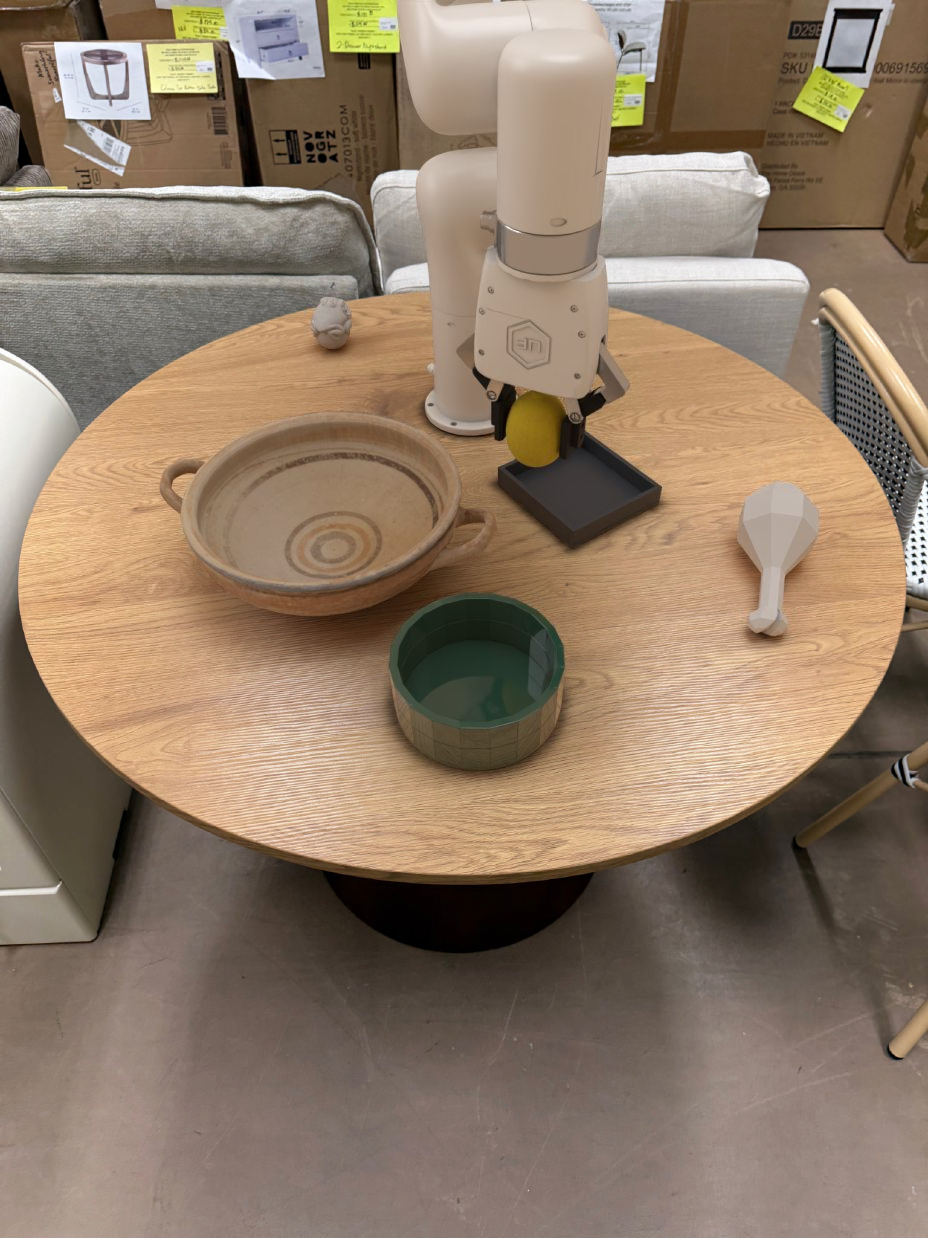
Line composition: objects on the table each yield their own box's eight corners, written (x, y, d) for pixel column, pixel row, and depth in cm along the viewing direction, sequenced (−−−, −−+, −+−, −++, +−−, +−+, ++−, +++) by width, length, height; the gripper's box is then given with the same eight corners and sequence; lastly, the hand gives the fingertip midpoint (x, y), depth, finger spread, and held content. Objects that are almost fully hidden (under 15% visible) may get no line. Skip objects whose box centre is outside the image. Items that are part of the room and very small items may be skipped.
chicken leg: (707, 635, 83) (758, 600, 76) (724, 499, 91) (772, 456, 84) (777, 664, 84) (833, 633, 77) (787, 528, 93) (840, 488, 86)
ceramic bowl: (119, 620, 85) (83, 550, 78) (242, 458, 103) (222, 389, 96) (457, 693, 78) (454, 623, 70) (526, 505, 96) (529, 434, 88)
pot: (365, 683, 79) (357, 640, 74) (496, 614, 84) (496, 569, 79) (455, 801, 70) (452, 760, 65) (594, 715, 76) (601, 671, 71)
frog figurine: (363, 337, 123) (357, 293, 118) (342, 360, 119) (335, 315, 113) (327, 331, 125) (320, 287, 119) (305, 354, 120) (297, 309, 115)
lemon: (565, 448, 77) (572, 373, 71) (564, 486, 73) (570, 411, 67) (507, 445, 77) (508, 371, 71) (502, 483, 73) (503, 408, 67)
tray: (497, 484, 99) (497, 466, 97) (581, 445, 103) (582, 428, 101) (571, 549, 91) (573, 531, 89) (659, 504, 95) (662, 486, 93)
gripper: (419, 238, 60) (432, 440, 73) (644, 285, 54) (613, 493, 68) (465, 199, 64) (469, 396, 78) (677, 238, 59) (641, 443, 73)
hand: (536, 439), depth 73 cm, fingers closed on lemon, 5 cm apart
